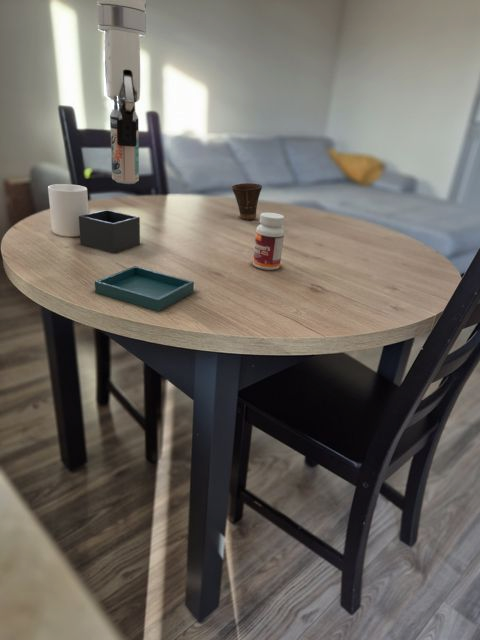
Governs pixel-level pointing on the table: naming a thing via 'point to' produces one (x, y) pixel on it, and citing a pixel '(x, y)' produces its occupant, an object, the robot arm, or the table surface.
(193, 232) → the table surface
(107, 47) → the robot arm
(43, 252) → the table surface
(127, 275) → the tray
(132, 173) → the beer can
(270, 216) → the pill bottle
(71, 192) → the mug
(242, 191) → the cup
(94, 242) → the bin
